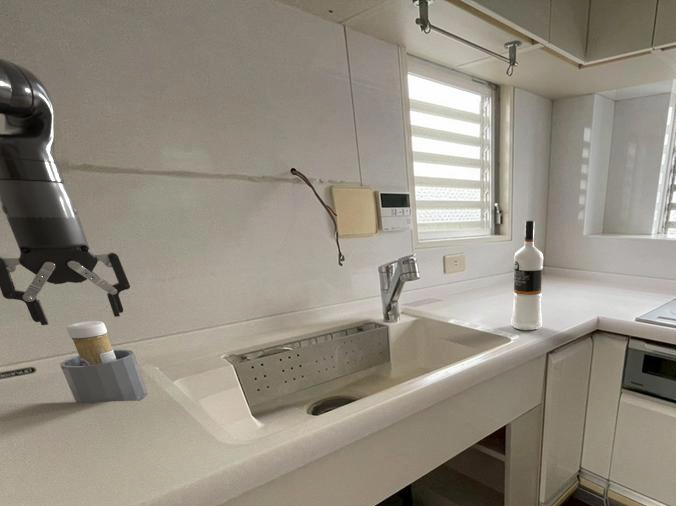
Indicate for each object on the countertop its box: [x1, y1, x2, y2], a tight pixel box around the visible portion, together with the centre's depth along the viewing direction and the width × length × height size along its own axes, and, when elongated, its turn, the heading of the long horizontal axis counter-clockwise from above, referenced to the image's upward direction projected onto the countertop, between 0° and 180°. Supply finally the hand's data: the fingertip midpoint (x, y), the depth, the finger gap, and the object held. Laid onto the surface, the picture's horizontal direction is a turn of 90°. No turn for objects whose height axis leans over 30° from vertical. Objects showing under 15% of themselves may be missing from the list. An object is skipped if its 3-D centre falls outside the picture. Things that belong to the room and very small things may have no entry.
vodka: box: [510, 220, 544, 331], centre depth 116 cm, size 9×9×30 cm
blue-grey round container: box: [59, 349, 148, 404], centre depth 70 cm, size 9×9×8 cm
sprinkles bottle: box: [66, 320, 117, 366], centre depth 69 cm, size 5×5×14 cm
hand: (82, 319), depth 66 cm, fingers open, 8 cm apart
